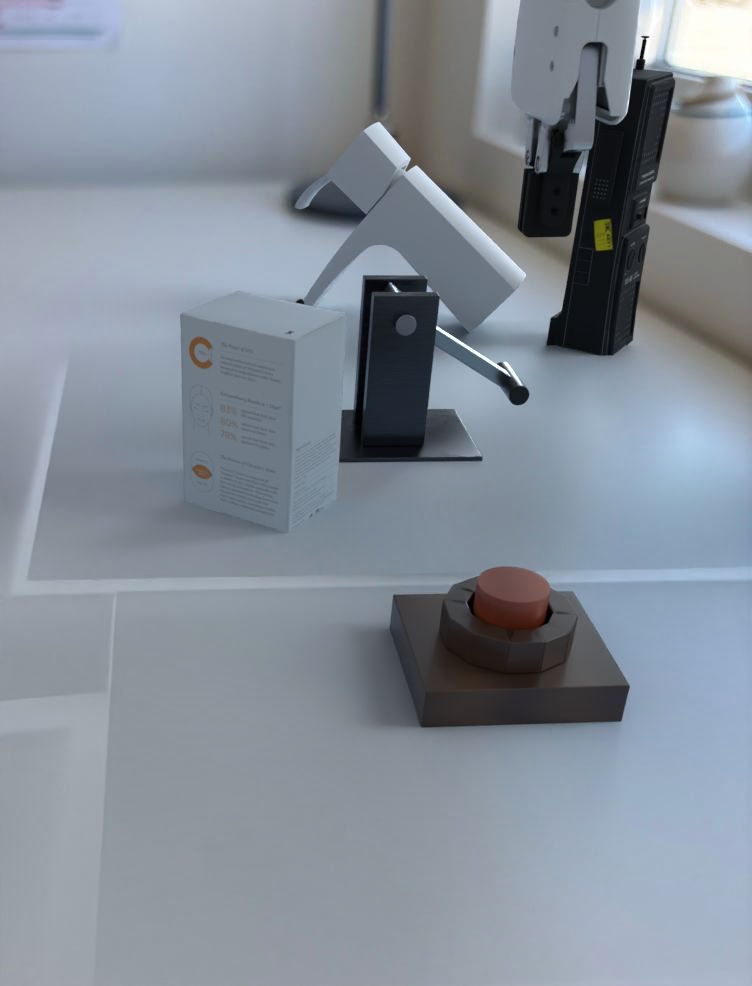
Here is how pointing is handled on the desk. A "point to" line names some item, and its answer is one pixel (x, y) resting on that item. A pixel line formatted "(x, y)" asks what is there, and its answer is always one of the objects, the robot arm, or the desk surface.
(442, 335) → the tap lever
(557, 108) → the robot arm
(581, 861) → the desk surface
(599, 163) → the portable radio
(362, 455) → the bracket
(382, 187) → the faucet
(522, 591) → the button
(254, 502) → the small box
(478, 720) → the button block
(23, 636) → the desk surface
